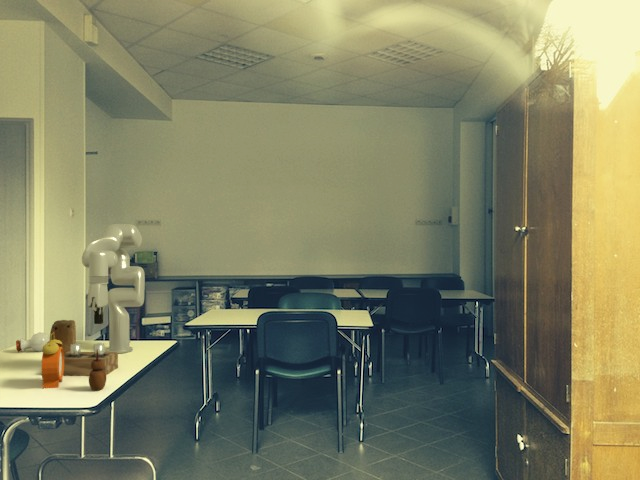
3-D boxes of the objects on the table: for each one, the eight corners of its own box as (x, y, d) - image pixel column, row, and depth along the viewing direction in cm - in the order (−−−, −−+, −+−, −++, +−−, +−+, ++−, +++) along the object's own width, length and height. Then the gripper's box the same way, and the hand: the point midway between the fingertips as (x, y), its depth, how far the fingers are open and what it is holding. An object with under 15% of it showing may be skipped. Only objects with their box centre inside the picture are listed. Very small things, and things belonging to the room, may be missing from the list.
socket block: (68, 367, 240) (68, 351, 240) (117, 367, 239) (117, 351, 239) (52, 375, 226) (52, 358, 226) (105, 375, 225) (104, 358, 225)
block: (76, 362, 248) (76, 319, 248) (74, 366, 241) (74, 321, 241) (50, 364, 245) (50, 320, 244) (47, 368, 237) (47, 322, 237)
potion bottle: (52, 353, 273) (18, 359, 268) (53, 339, 280) (21, 344, 275) (48, 341, 267) (14, 346, 263) (49, 327, 274) (16, 332, 270)
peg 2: (96, 359, 233) (96, 343, 233) (105, 359, 233) (105, 343, 233) (92, 361, 229) (92, 345, 229) (101, 361, 229) (101, 345, 229)
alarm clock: (58, 388, 207) (58, 336, 207) (40, 389, 205) (40, 337, 205) (64, 379, 220) (64, 330, 219) (47, 380, 218) (47, 330, 218)
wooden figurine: (92, 386, 209) (92, 348, 209) (108, 386, 210) (108, 347, 210) (86, 392, 203) (86, 351, 202) (102, 391, 203) (102, 351, 203)
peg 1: (73, 359, 233) (73, 342, 233) (82, 359, 233) (82, 343, 233) (68, 361, 229) (68, 344, 229) (78, 361, 229) (78, 344, 229)
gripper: (97, 279, 238) (97, 321, 238) (82, 281, 223) (81, 326, 223) (114, 279, 238) (114, 321, 238) (100, 281, 223) (100, 326, 223)
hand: (98, 323), depth 231 cm, fingers closed
